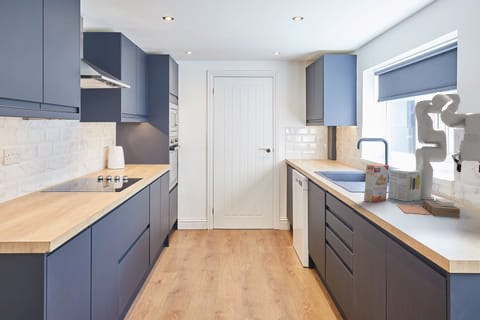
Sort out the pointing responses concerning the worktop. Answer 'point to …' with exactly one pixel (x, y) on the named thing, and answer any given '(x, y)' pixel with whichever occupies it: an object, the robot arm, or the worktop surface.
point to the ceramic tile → (444, 202)
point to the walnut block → (440, 209)
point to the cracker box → (376, 182)
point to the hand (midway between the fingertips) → (469, 172)
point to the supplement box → (405, 184)
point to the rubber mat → (413, 209)
